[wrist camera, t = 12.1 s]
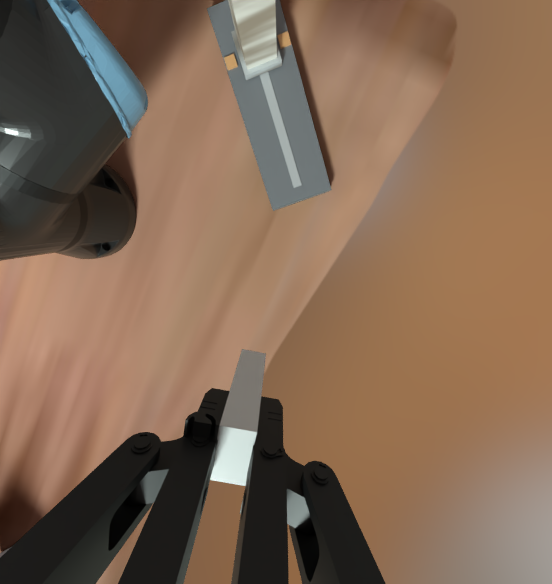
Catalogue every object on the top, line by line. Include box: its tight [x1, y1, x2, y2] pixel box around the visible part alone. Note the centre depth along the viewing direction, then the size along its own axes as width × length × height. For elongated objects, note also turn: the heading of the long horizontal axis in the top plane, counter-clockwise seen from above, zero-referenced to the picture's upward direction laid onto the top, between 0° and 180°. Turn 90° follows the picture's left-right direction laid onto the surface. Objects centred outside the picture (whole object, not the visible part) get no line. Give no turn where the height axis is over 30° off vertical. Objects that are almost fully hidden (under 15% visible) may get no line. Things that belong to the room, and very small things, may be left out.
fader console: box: [207, 0, 331, 211], centre depth 38 cm, size 26×9×2 cm, turn 19°
